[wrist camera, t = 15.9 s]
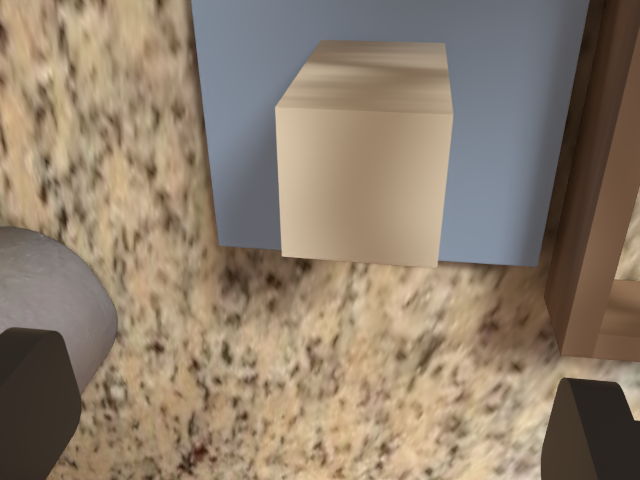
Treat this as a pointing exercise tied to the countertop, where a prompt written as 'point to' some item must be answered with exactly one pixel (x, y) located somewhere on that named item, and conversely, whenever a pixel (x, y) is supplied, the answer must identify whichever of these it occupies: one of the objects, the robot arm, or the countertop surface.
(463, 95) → the pad
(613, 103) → the brown wooden square frame
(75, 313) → the pillar candle
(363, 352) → the countertop surface
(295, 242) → the maple block
